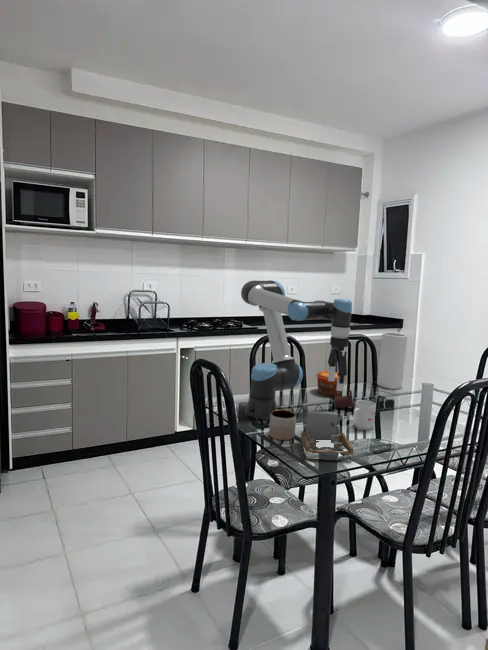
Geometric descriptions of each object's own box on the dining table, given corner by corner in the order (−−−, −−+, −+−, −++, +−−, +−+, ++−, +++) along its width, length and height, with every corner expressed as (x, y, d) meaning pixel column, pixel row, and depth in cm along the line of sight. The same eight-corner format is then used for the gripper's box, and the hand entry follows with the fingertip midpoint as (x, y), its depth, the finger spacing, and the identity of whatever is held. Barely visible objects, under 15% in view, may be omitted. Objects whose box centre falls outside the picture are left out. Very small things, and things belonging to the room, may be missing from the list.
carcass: (306, 459, 170) (307, 446, 169) (300, 443, 184) (301, 431, 183) (351, 461, 170) (353, 448, 169) (342, 444, 184) (343, 433, 184)
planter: (292, 431, 196) (294, 409, 194) (296, 441, 185) (298, 419, 184) (267, 430, 195) (269, 408, 194) (269, 440, 185) (271, 417, 183)
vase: (381, 389, 266) (387, 336, 261) (373, 382, 280) (378, 331, 275) (405, 390, 267) (412, 337, 262) (395, 383, 281) (401, 332, 276)
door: (306, 442, 185) (309, 414, 183) (305, 438, 189) (307, 410, 187) (336, 444, 185) (338, 415, 183) (334, 440, 189) (336, 412, 187)
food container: (317, 387, 262) (319, 369, 261) (345, 391, 258) (347, 373, 256) (312, 395, 247) (314, 375, 246) (342, 399, 243) (344, 380, 241)
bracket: (371, 409, 221) (368, 388, 224) (335, 412, 225) (333, 391, 228) (370, 410, 227) (368, 389, 230) (336, 412, 231) (333, 392, 233)
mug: (360, 421, 211) (363, 398, 210) (377, 428, 205) (380, 404, 203) (344, 427, 204) (347, 403, 202) (361, 433, 197) (364, 409, 195)
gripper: (358, 343, 178) (353, 395, 182) (340, 331, 203) (335, 377, 206) (339, 342, 178) (334, 394, 181) (323, 330, 202) (319, 377, 206)
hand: (335, 385), depth 194 cm, fingers open, 13 cm apart
